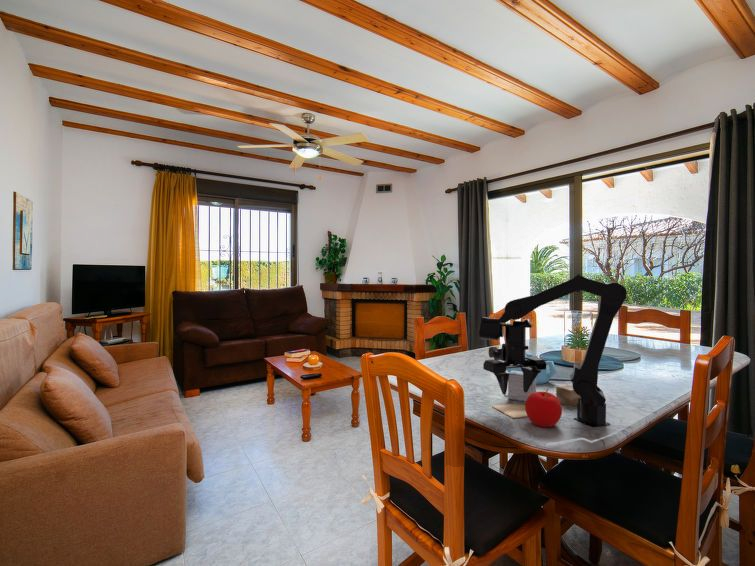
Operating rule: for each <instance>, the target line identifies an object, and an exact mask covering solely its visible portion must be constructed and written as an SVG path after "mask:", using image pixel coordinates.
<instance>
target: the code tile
mask: <svg viewBox="0 0 755 566" xmlns="http://www.w3.org/2000/svg"><path fill="white" fill-rule="evenodd" d="M503 397H505V398H507V399H508V394H506V395H504V394H503ZM510 400H511V401H513V402H515V403H520V404H522V405H525V403H526V402H525V401H519V400H513V399H510Z"/></svg>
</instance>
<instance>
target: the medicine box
mask: <svg viewBox="0 0 755 566" xmlns="http://www.w3.org/2000/svg"><path fill="white" fill-rule="evenodd" d="M508 373H509V378H508V385H507V395H508V398H507V399H509V400H511V399H513V400H519V401H525V402H526V400H527V398H528V397H529V395H531V394H532V393H535V392H537V384H536V378H535V379H534V381H533V383H532V384H531V386H530V388H529V390H528V392H527V393H526V392H524V390H523V372H520V371H513V370H512V371H510V372H508ZM513 400H512V401H513Z"/></svg>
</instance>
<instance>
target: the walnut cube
mask: <svg viewBox="0 0 755 566" xmlns="http://www.w3.org/2000/svg"><path fill="white" fill-rule="evenodd" d="M555 388H556V389H555V393H556V394H555V396H556V397H557V399H558V400H559V402H560V404H561V405H565V406H567V407H571V408H572V407H574V406H577V403H578V398H581V397H580V396H579V395H577V394H576V393H575V391H574V390H573V385H571V384H570V385H569V384H562V385H557V386H556V387H555Z"/></svg>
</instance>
